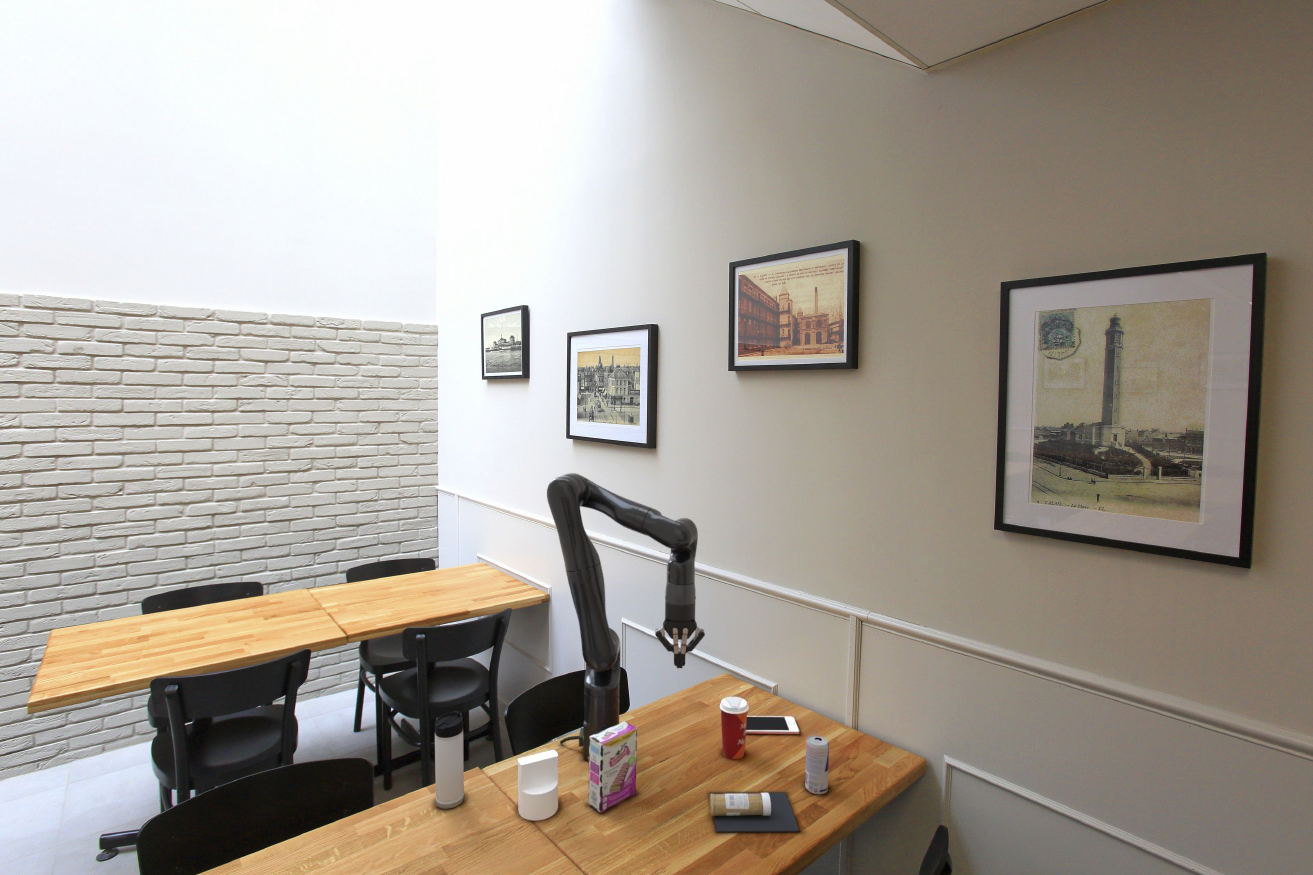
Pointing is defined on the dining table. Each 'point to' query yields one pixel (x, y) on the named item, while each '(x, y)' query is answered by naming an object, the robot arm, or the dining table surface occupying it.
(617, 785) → the candy bar box
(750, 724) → the cell phone
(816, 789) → the energy drink
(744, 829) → the rubber mat
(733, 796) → the sprinkles bottle
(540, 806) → the base with upright slab
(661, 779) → the dining table surface
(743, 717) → the paper cup
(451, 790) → the travel mug
